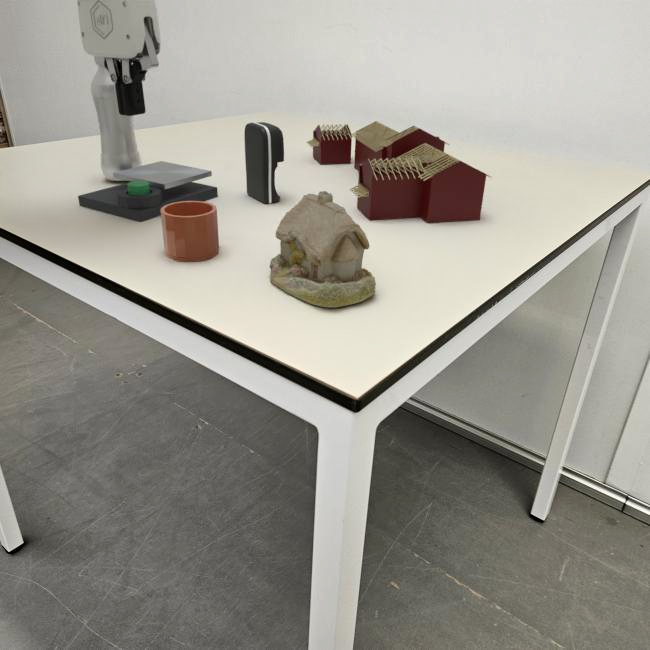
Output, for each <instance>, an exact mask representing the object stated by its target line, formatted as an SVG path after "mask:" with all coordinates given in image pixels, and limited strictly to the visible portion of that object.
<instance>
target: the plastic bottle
mask: <svg viewBox="0 0 650 650" xmlns="http://www.w3.org/2000/svg"><path fill="white" fill-rule="evenodd" d="M119 61H120V60H119ZM94 63H95V64H94V65H95V66H97V71H96V72H95V74H94V76H93V78H92V81H91V83H90V93H91V97H92V101H93V104H94V108H95V112H96V116H97V122H98V124H99V125H98V126H99V127H98V129H99V133H100V151H101V153H100V169H101V172H102V175H103V176H104V177H105V179H107V180H109V181H113V182H114V181H115V182H127V181H126V180H121V179H117V178H114V177H113V173H114V172H118V171H122V170H126V169H130V168H134V167H139V166H143V163H142V158H141V154H140V152H139V149H138V144H137V137H136V133H135V125H134V122H135V121H134V115H133V116H126V115H120V114H119V109H118V103H117V96H116V89H115V83H114V82H112V81H111V78H110V74H109V72H108V70H107V69H106V67H103V66H101V65H99V64H97V63H96V62H95V61H94Z"/></svg>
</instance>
